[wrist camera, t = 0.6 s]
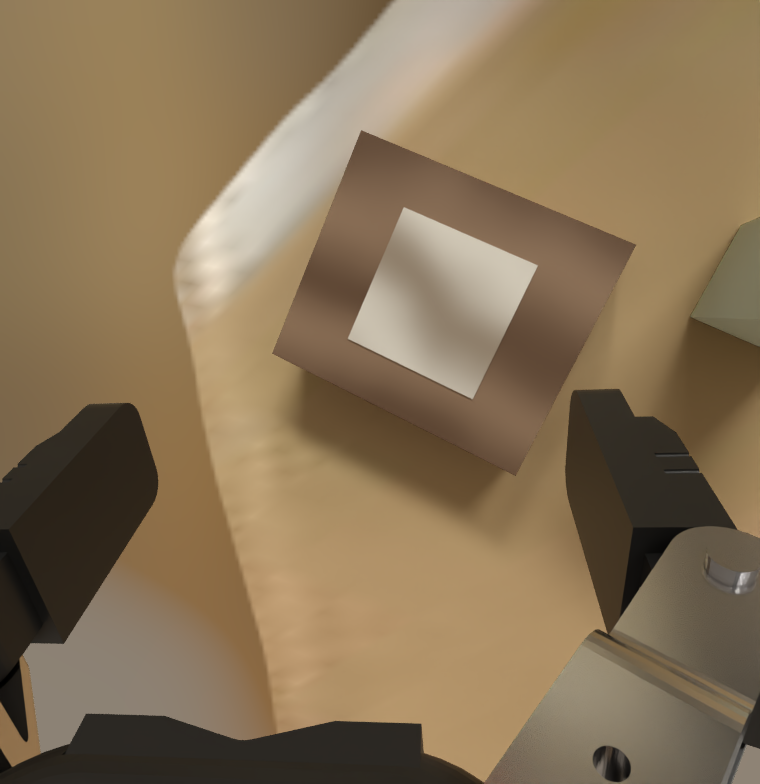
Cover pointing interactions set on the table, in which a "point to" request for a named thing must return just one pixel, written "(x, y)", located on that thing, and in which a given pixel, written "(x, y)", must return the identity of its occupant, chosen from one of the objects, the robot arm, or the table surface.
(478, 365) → the plinth
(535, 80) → the table surface
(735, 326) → the pillar
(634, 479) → the robot arm
